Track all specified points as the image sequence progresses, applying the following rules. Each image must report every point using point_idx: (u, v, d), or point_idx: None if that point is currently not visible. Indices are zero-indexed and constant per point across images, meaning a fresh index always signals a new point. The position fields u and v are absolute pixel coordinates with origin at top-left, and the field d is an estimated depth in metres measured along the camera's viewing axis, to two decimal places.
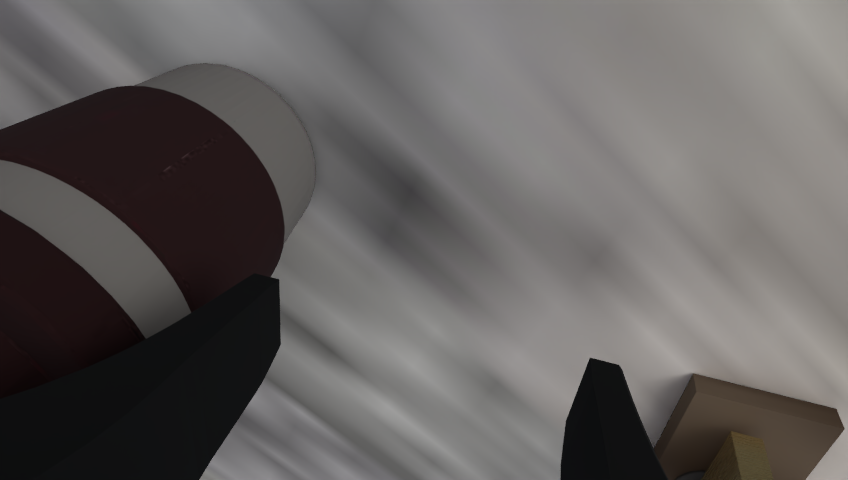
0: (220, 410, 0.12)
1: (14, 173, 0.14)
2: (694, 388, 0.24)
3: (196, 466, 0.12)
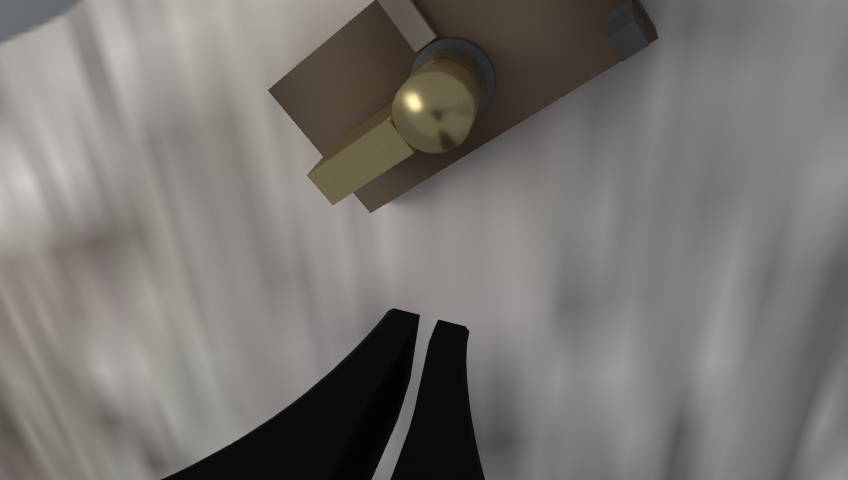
0: (372, 454, 0.12)
1: None
2: (374, 208, 0.23)
3: None
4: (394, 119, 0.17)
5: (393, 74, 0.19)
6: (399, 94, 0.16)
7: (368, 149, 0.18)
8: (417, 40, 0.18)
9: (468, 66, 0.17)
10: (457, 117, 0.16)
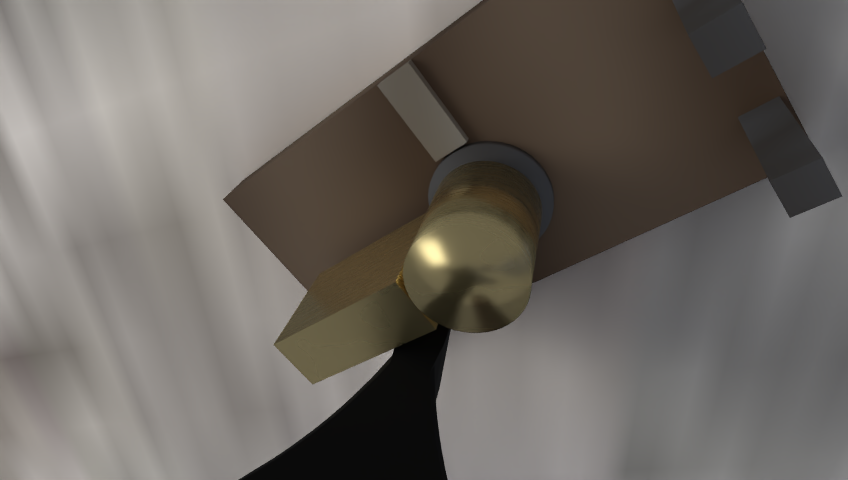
0: None
1: None
2: None
3: None
4: (406, 283, 0.11)
5: (402, 187, 0.13)
6: (414, 251, 0.10)
7: (365, 319, 0.11)
8: (438, 145, 0.12)
9: (519, 195, 0.11)
10: (507, 288, 0.10)
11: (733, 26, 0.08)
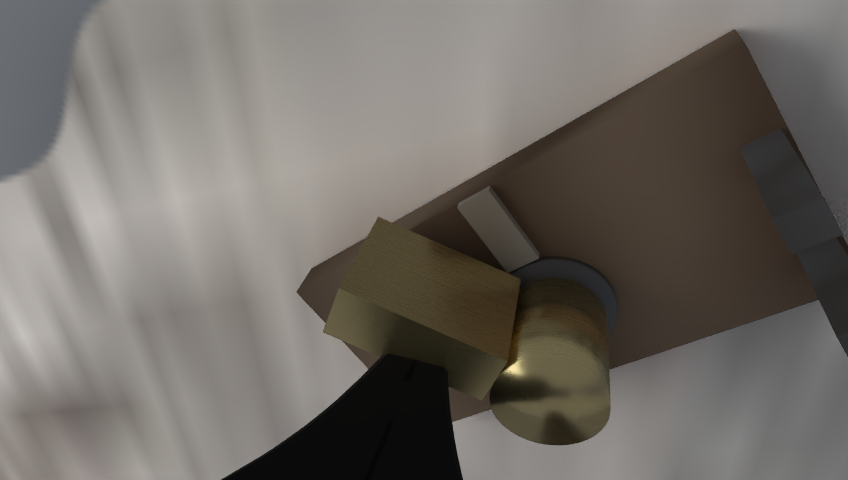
0: None
1: None
2: None
3: None
4: (512, 369, 0.11)
5: None
6: (553, 366, 0.11)
7: (444, 351, 0.11)
8: (511, 259, 0.13)
9: None
10: (565, 430, 0.12)
11: (814, 216, 0.09)
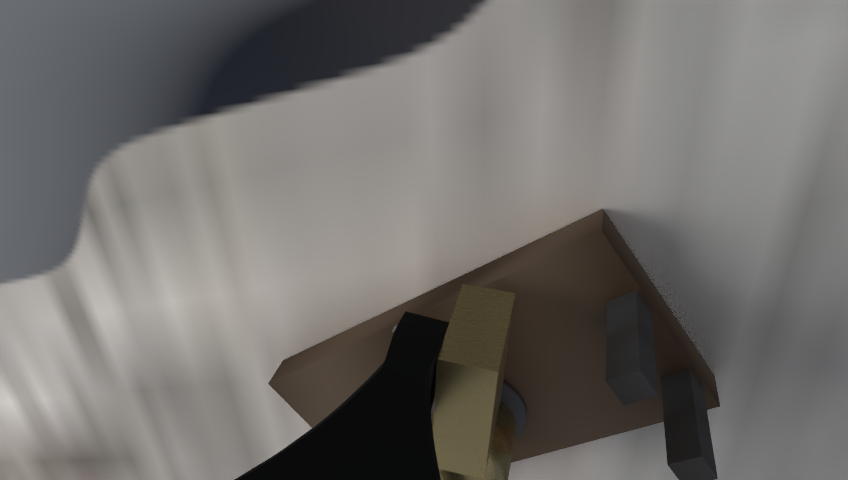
0: None
1: None
2: None
3: None
4: None
5: None
6: None
7: (469, 443, 0.13)
8: None
9: None
10: None
11: (635, 381, 0.12)
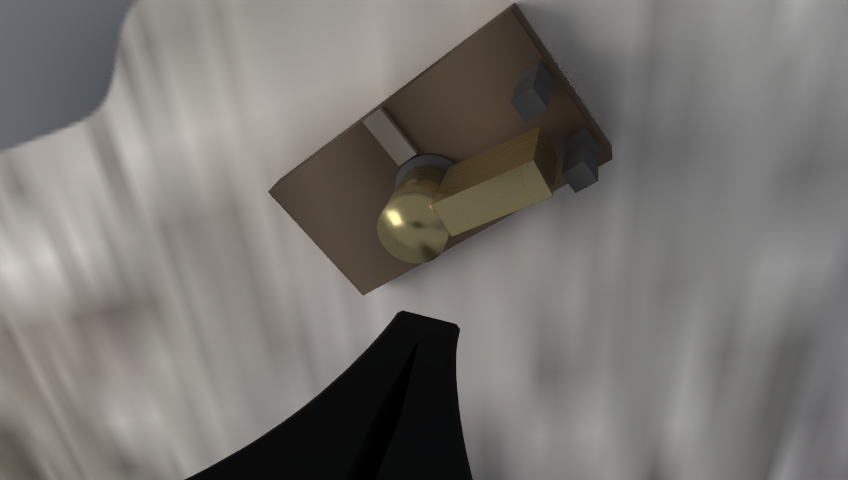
0: (382, 456, 0.12)
1: None
2: (366, 290, 0.25)
3: None
4: (445, 235, 0.18)
5: (380, 182, 0.22)
6: (437, 253, 0.19)
7: (476, 213, 0.18)
8: (400, 156, 0.21)
9: None
10: (389, 228, 0.19)
11: (530, 98, 0.16)
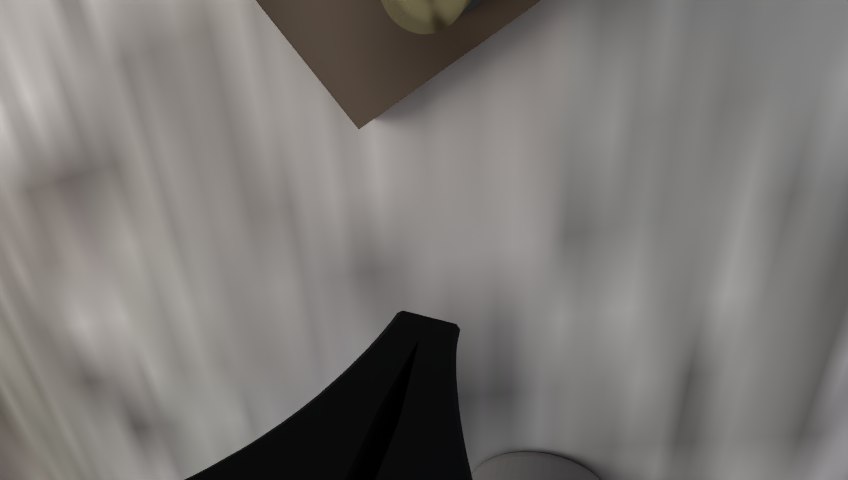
0: (382, 456, 0.12)
1: None
2: (363, 124, 0.21)
3: None
4: None
5: None
6: (452, 18, 0.15)
7: None
8: None
9: None
10: None
11: None
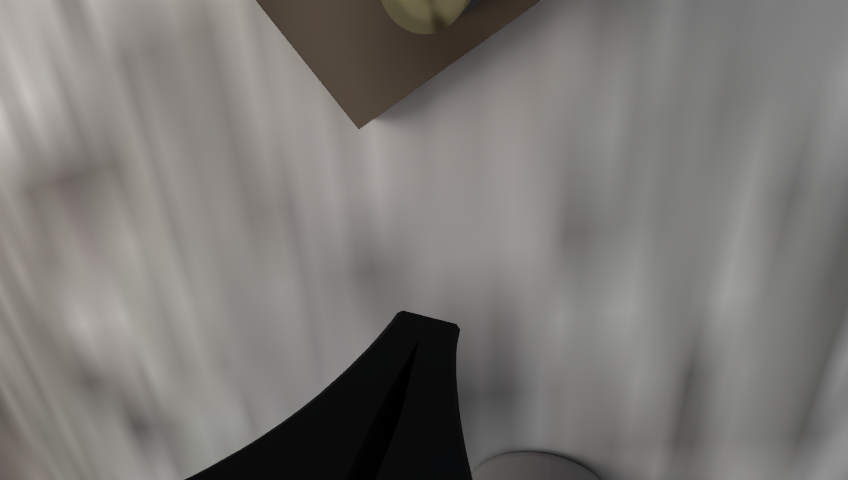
0: (382, 456, 0.12)
1: None
2: (363, 124, 0.21)
3: None
4: None
5: None
6: (451, 19, 0.15)
7: None
8: None
9: None
10: None
11: None
